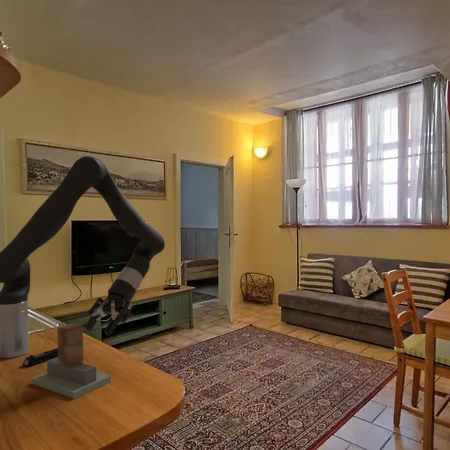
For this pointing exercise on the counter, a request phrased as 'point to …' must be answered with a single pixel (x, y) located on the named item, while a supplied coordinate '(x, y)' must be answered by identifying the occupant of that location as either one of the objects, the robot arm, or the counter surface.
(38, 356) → the electric trimmer
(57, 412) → the counter surface
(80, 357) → the brown wooden block
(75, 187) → the robot arm
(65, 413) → the counter surface
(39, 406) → the counter surface
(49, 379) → the ridge board
